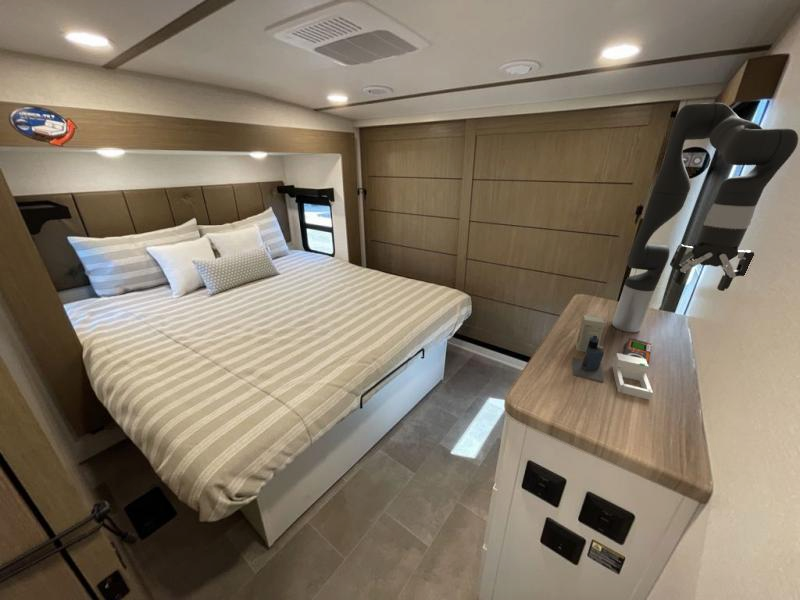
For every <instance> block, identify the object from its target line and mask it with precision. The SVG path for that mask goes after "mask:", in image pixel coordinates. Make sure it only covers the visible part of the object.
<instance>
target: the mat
mask: <svg viewBox="0 0 800 600" xmlns="http://www.w3.org/2000/svg"><path fill="white" fill-rule="evenodd" d="M583 360H584V358H579V357H574V356H573V357H572V370H573V374H572V375H573V376H575V377H579V378H584V379H588V380H590V381H591V380H592V381H596V382H600V383H604V382H605V379H604V374H603V369H602V363H601V364H600V367H599V369H598V370H597V371H585V370H583V369H582V363H583Z"/></svg>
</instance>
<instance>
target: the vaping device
mask: <svg viewBox="0 0 800 600" xmlns="http://www.w3.org/2000/svg"><path fill="white" fill-rule="evenodd" d="M598 342H599V339H598V338H597V336H593V337H591V338H590V340H589V344H588V347H587V349H586V352H585V353H584V357H583V359H584V360H583V363H582V369H583V370H585V371H597V370H598V369H599V367H600V364H601V365H602V360H603V357H604V353H605V351H604V348H605V347H604V345H600V344H599V345H598Z"/></svg>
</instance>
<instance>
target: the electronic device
mask: <svg viewBox="0 0 800 600" xmlns="http://www.w3.org/2000/svg"><path fill="white" fill-rule="evenodd" d="M652 347H653V346H652V343H650V342H647V341H643V340H639V339H636V338H632V337H628V338H627V341H626V344H625V348H624V352H625V353H624V352H623V354H624V355H629V356H633V357H638V358H643V359H646V361H647V364H648V365H649V363H650V358H651V356H650V355H651V353H652Z"/></svg>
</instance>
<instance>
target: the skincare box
mask: <svg viewBox="0 0 800 600" xmlns="http://www.w3.org/2000/svg"><path fill="white" fill-rule="evenodd" d="M605 324H606V321H605V319H604V317H601V316H596V315H595V316H594V315H590V314H589V315H587V314H582V319H581V323H580V326H579V331H578V335H577V339H576V343H575V347H576V351H580V352H583V353H584V352H585V353H586V349H587V347H588V344H589V340H590V338H591V337H593V336H597V338H598V339H599V342H598V345H600V343H601V338H602V335H603V333H604V328H605Z"/></svg>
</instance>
